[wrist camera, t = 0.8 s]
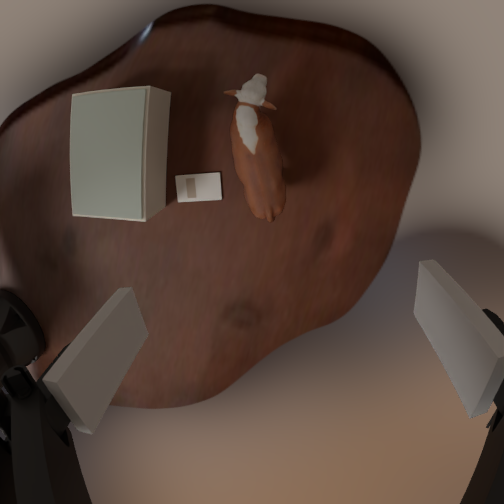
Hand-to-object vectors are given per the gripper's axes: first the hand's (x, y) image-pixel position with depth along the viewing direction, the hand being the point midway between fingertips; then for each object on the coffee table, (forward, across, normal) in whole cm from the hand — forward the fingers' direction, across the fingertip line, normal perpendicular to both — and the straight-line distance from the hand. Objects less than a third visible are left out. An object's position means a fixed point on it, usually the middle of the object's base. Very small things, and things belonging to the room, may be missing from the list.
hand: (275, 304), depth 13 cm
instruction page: (+21, -8, +2) cm, 23 cm away
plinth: (+21, -16, +8) cm, 27 cm away
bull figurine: (+22, -1, +6) cm, 22 cm away
